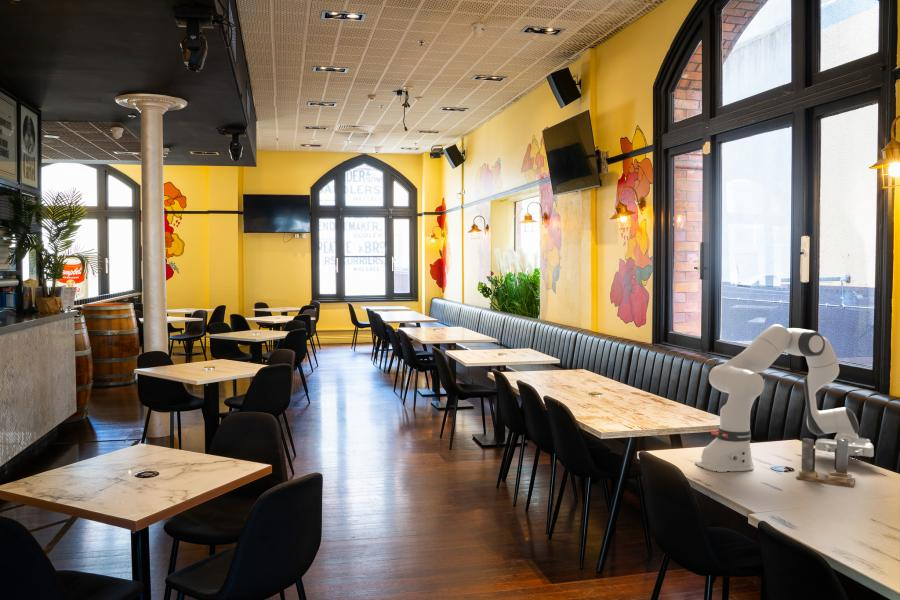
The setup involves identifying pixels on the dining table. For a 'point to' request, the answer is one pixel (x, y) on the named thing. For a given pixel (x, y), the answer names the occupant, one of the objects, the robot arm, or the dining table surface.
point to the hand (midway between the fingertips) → (842, 451)
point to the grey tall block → (841, 456)
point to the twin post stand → (811, 474)
